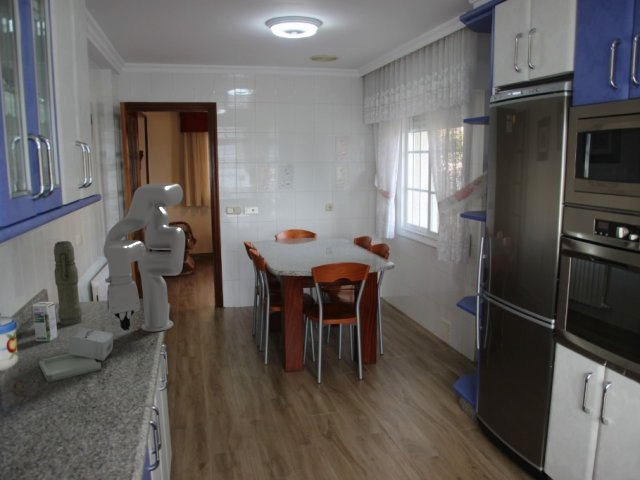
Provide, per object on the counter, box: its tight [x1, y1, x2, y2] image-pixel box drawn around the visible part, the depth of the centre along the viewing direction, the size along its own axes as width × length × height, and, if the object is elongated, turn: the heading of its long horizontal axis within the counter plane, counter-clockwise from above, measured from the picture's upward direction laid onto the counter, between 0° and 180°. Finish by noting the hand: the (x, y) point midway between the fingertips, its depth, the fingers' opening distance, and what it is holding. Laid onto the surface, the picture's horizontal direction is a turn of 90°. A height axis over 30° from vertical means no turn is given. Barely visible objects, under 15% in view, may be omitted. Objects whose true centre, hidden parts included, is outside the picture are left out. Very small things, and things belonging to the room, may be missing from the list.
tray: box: [38, 353, 102, 384], centre depth 175 cm, size 16×16×2 cm
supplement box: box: [68, 326, 114, 361], centre depth 183 cm, size 7×7×13 cm
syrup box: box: [32, 301, 58, 342], centre depth 202 cm, size 6×6×14 cm
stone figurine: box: [53, 240, 83, 326], centre depth 220 cm, size 9×12×35 cm
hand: (125, 329), depth 185 cm, fingers closed
